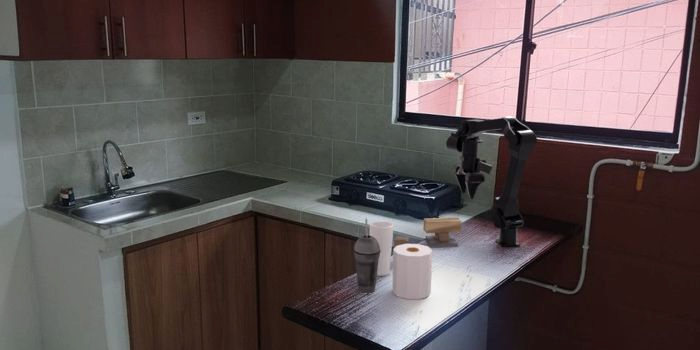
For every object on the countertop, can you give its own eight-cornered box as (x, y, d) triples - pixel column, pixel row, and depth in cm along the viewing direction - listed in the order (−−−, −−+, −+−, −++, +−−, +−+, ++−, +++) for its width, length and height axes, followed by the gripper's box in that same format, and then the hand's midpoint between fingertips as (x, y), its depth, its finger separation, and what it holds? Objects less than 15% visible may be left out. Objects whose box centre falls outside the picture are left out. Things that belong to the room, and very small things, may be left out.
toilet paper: (407, 281, 163) (409, 240, 160) (438, 291, 156) (439, 249, 153) (384, 291, 155) (385, 249, 153) (415, 303, 148) (416, 259, 146)
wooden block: (406, 265, 175) (407, 240, 173) (393, 264, 176) (394, 239, 174) (408, 261, 178) (409, 236, 177) (396, 259, 180) (396, 235, 178)
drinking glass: (378, 267, 173) (378, 219, 170) (396, 272, 169) (397, 223, 166) (364, 273, 168) (364, 224, 165) (382, 279, 164) (384, 229, 161)
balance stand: (458, 245, 193) (458, 234, 192) (432, 246, 192) (432, 235, 191) (450, 237, 202) (450, 226, 201) (425, 238, 201) (425, 227, 200)
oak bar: (460, 232, 195) (461, 220, 194) (426, 233, 193) (426, 221, 192) (457, 228, 199) (457, 217, 198) (423, 229, 197) (423, 218, 196)
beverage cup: (357, 297, 152) (358, 224, 147) (350, 286, 158) (350, 217, 154) (383, 294, 153) (385, 222, 149) (375, 284, 160) (376, 215, 156)
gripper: (500, 158, 200) (498, 201, 204) (482, 149, 218) (479, 189, 222) (469, 158, 199) (467, 202, 202) (453, 150, 217) (451, 190, 220)
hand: (467, 195), depth 212 cm, fingers open, 9 cm apart
